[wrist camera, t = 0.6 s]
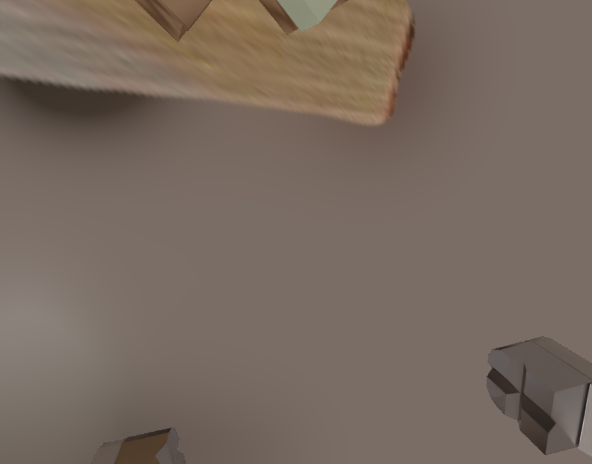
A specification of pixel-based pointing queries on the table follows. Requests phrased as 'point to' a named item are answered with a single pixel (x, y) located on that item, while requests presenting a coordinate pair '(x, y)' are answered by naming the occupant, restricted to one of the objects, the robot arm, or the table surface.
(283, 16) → the brown wooden tall block
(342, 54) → the table surface
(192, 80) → the table surface
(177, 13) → the low shelf
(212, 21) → the table surface
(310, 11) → the sage rod
